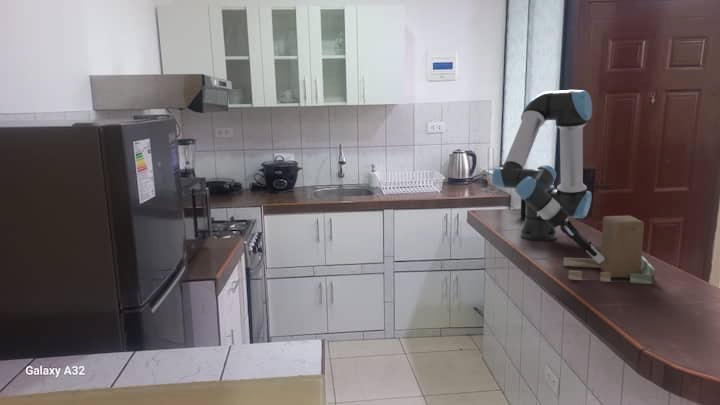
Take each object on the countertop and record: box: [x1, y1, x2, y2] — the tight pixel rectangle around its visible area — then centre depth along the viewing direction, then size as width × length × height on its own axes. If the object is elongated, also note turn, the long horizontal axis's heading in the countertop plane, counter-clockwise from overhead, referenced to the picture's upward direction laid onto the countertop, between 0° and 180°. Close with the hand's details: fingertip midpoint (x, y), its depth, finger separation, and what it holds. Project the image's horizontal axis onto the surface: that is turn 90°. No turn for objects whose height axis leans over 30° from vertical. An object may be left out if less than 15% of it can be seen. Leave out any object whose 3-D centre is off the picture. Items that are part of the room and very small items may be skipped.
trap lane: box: [563, 255, 656, 285], centre depth 171 cm, size 15×26×5 cm, turn 74°
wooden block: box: [600, 215, 645, 279], centre depth 169 cm, size 10×10×20 cm
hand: (601, 260), depth 170 cm, fingers closed
